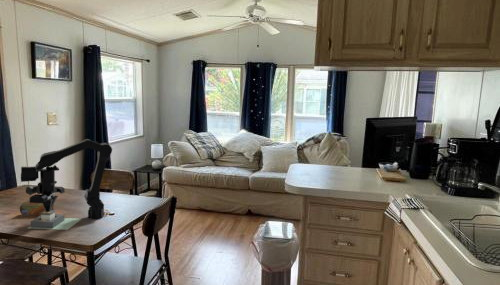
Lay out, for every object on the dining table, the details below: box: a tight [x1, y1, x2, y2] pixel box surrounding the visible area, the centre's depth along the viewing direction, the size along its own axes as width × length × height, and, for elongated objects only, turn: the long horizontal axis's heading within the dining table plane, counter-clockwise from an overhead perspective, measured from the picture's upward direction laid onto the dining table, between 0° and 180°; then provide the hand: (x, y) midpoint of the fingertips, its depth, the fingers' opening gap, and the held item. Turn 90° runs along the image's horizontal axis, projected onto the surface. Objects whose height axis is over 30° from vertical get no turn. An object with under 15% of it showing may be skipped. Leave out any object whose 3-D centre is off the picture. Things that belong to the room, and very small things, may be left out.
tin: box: [19, 200, 55, 217], centre depth 162 cm, size 15×3×8 cm, turn 105°
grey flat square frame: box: [30, 213, 65, 229], centre depth 151 cm, size 10×10×3 cm
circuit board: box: [27, 217, 82, 231], centre depth 153 cm, size 18×14×1 cm
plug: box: [40, 209, 56, 220], centre depth 151 cm, size 4×4×6 cm
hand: (48, 211), depth 151 cm, fingers closed, pressing on plug
